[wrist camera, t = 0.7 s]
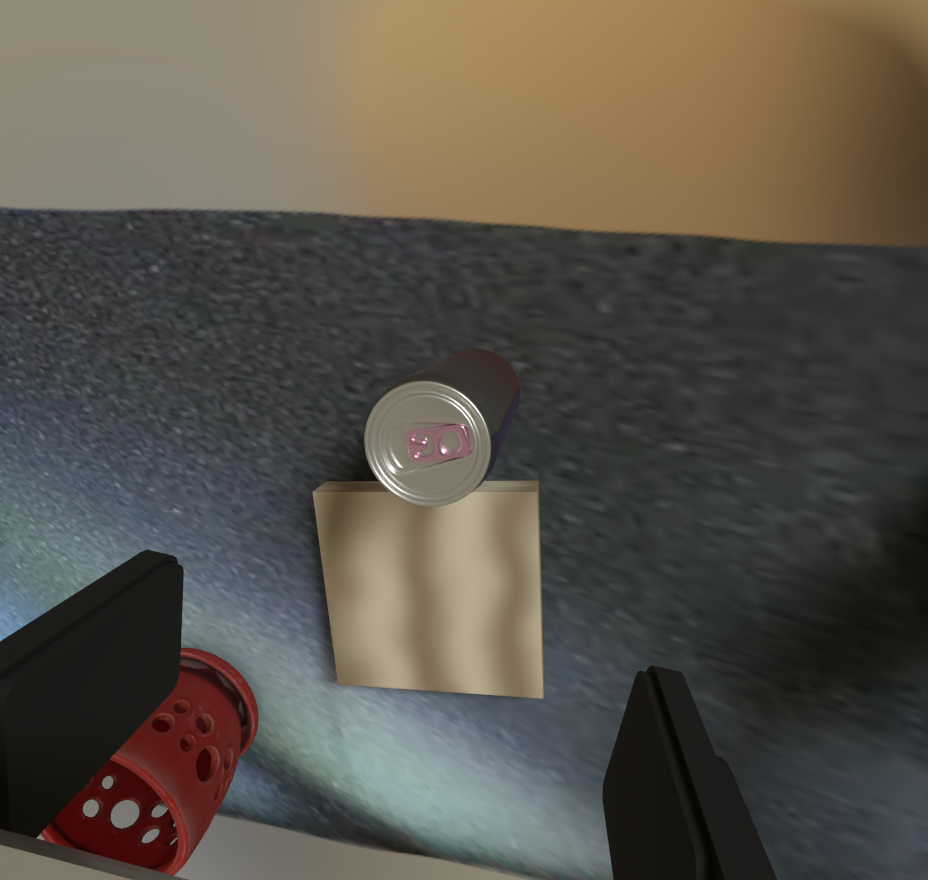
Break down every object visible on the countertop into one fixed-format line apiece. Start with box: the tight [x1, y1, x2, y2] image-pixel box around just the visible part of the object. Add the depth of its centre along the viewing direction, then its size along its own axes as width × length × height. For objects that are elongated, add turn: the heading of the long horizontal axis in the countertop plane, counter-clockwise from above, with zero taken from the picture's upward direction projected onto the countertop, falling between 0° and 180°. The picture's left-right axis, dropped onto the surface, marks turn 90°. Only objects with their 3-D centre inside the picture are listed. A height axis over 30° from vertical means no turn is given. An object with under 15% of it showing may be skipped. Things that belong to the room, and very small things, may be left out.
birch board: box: [313, 481, 544, 698], centre depth 40 cm, size 16×16×2 cm
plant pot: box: [41, 648, 258, 875], centre depth 43 cm, size 13×13×12 cm
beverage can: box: [364, 349, 520, 507], centre depth 30 cm, size 6×6×15 cm
